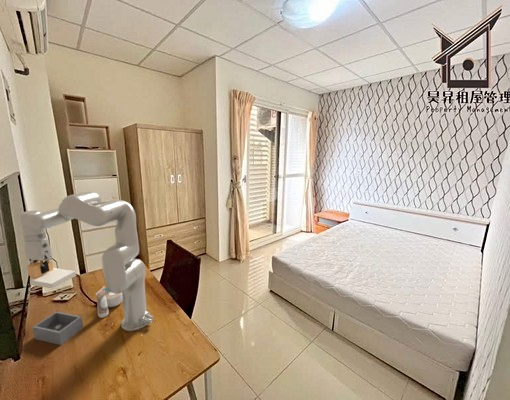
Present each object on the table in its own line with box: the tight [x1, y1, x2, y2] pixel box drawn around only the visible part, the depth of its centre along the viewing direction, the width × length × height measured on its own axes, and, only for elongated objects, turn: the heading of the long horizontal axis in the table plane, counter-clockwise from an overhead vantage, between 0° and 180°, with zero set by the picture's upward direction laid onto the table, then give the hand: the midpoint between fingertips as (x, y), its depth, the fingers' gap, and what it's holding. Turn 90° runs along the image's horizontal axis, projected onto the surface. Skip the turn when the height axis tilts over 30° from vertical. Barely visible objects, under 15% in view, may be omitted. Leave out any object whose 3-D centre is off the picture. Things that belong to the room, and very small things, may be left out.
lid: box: [26, 259, 77, 289], centre depth 111 cm, size 15×11×8 cm
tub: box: [32, 311, 84, 346], centre depth 102 cm, size 14×10×6 cm
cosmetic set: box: [95, 285, 123, 318], centre depth 121 cm, size 25×9×19 cm, turn 1°
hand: (41, 271), depth 112 cm, fingers closed on lid, 4 cm apart
